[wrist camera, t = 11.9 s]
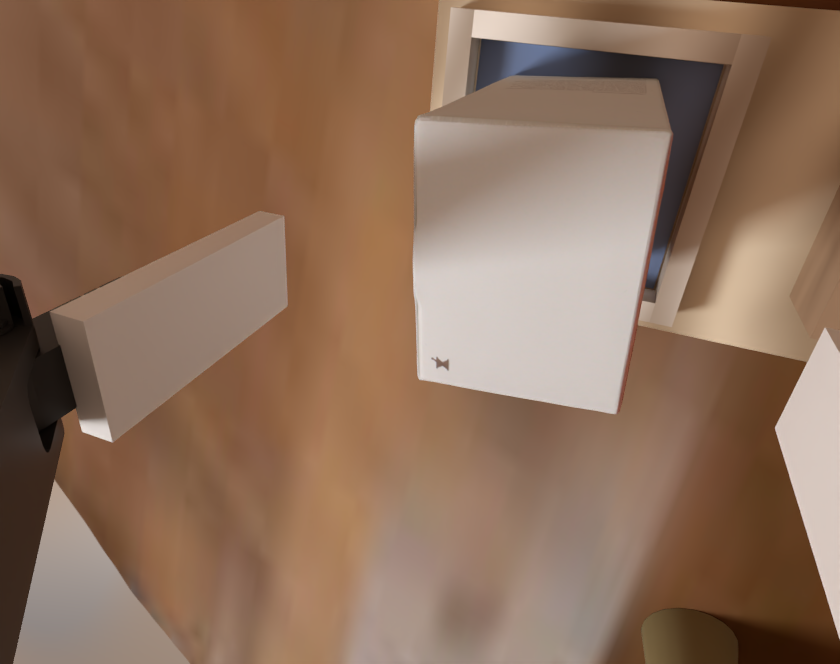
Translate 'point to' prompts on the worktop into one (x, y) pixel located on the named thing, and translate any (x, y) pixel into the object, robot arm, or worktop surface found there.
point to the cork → (687, 638)
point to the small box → (537, 235)
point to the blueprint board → (701, 146)
